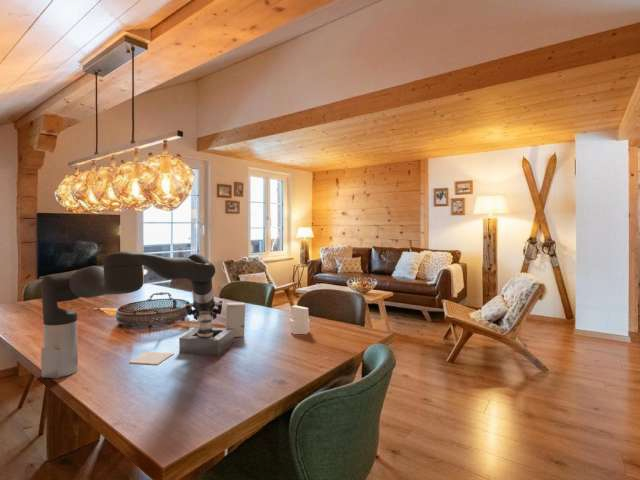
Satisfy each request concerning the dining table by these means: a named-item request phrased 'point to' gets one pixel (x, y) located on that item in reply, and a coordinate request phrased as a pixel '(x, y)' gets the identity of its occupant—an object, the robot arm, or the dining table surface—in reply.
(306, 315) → the cylinder with rectangular tab
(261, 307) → the dining table surface
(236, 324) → the skincare box
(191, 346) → the housing block
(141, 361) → the rubber mat
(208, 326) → the plastic bottle
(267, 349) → the dining table surface
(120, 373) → the dining table surface
